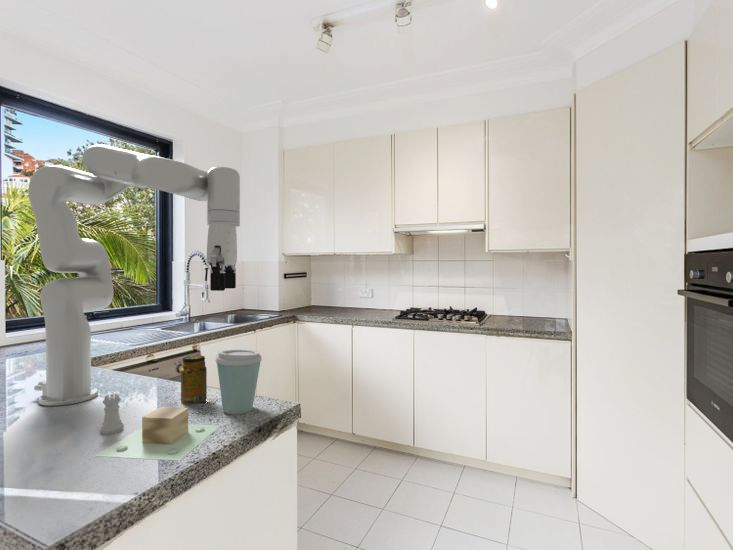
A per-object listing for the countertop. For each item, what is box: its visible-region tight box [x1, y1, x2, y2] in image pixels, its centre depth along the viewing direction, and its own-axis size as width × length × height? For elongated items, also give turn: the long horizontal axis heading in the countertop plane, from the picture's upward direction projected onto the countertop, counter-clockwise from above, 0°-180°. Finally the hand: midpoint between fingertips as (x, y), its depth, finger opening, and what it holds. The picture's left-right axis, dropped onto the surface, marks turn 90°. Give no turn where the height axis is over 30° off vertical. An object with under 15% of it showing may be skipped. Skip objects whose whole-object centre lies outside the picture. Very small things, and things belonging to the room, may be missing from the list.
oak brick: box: [141, 406, 189, 444], centre depth 82 cm, size 6×6×5 cm
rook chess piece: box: [99, 393, 125, 435], centre depth 85 cm, size 4×4×8 cm
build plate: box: [94, 423, 221, 462], centre depth 81 cm, size 16×16×1 cm
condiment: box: [180, 354, 219, 406], centre depth 104 cm, size 7×8×12 cm
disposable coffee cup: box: [215, 349, 263, 415], centre depth 98 cm, size 11×11×15 cm
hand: (223, 289), depth 100 cm, fingers open, 9 cm apart
